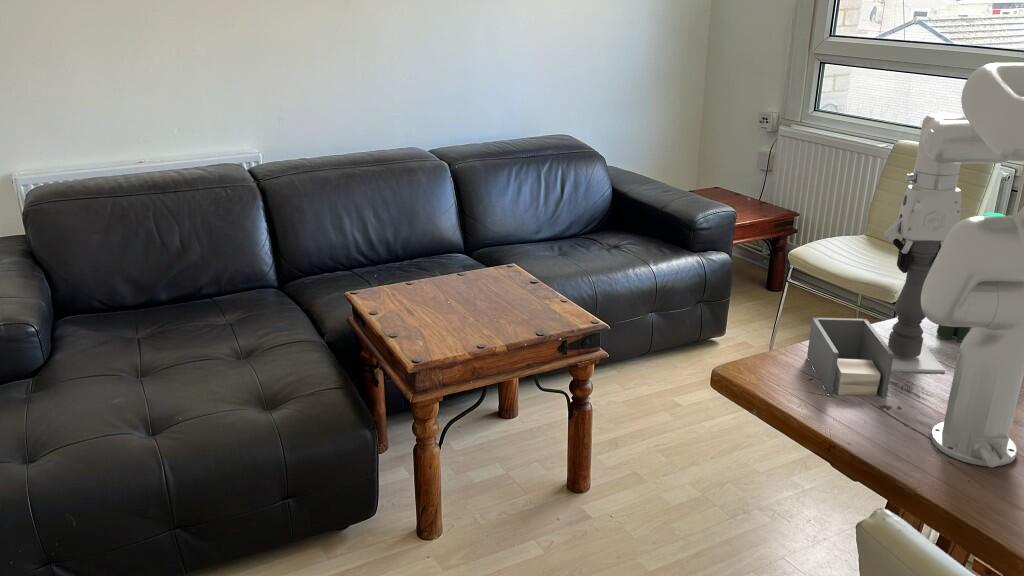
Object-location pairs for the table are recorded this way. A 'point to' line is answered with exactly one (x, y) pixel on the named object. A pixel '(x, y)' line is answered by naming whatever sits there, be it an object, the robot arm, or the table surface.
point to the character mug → (952, 332)
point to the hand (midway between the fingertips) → (918, 270)
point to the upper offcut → (857, 372)
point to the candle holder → (912, 301)
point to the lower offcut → (854, 389)
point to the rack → (847, 349)
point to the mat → (917, 363)
